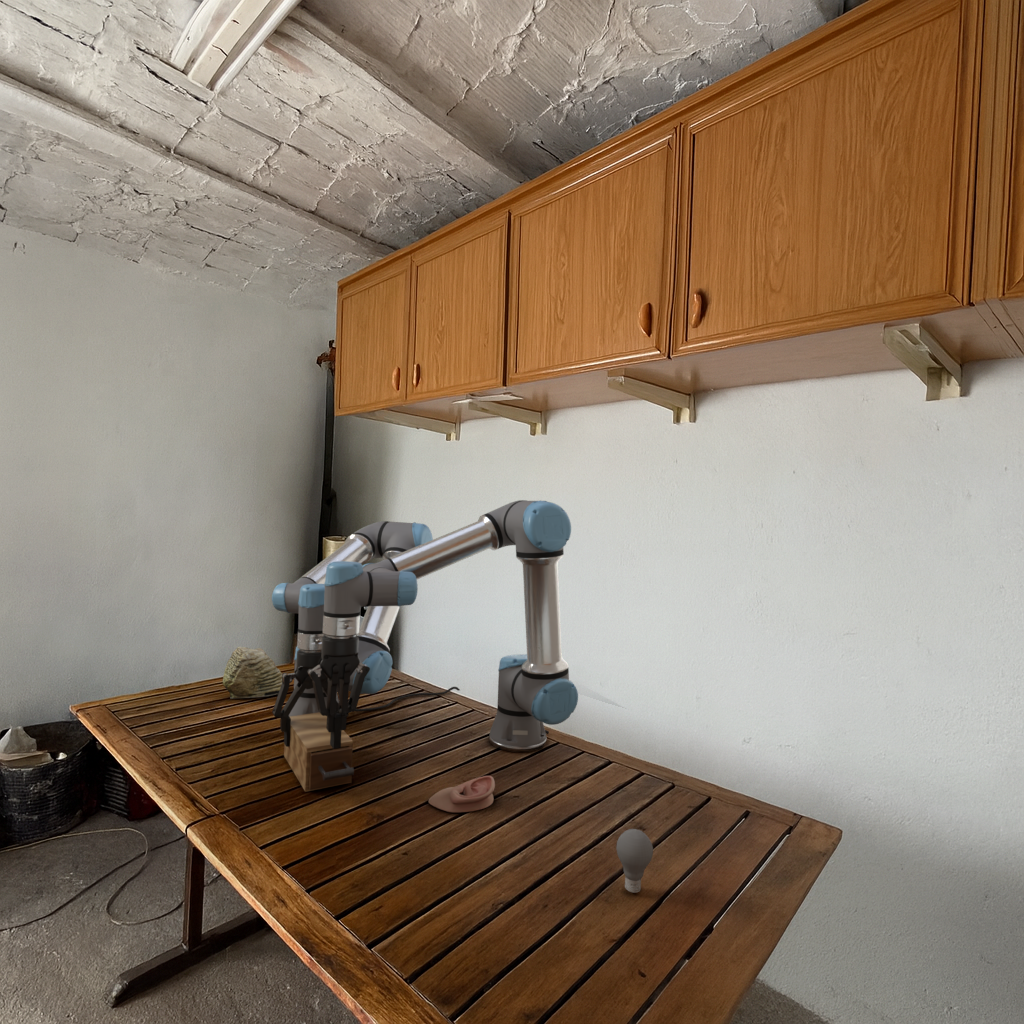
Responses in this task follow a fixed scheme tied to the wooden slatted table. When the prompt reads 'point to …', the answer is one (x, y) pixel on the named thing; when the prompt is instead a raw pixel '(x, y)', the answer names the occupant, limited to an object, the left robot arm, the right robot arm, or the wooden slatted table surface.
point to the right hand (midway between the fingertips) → (335, 745)
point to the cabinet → (309, 744)
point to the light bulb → (634, 857)
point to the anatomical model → (465, 796)
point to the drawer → (330, 767)
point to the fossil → (251, 674)
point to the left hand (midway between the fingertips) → (310, 740)
